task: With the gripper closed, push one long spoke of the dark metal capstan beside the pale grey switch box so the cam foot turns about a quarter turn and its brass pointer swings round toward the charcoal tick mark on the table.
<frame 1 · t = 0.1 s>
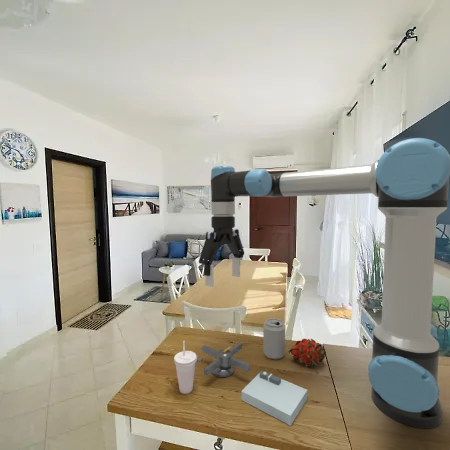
hand: (223, 280, 86), 28 cm above the table, fingers open, 13 cm apart
pale grey switch box: (274, 399, 71), on the table
smoothie: (186, 389, 76), on the table
capstan: (224, 360, 83), point 3 cm above the table, hinge at 0.0°
dragon fruit: (306, 363, 88), on the table
can: (274, 355, 93), on the table
tick mark: (199, 359, 90), on the table
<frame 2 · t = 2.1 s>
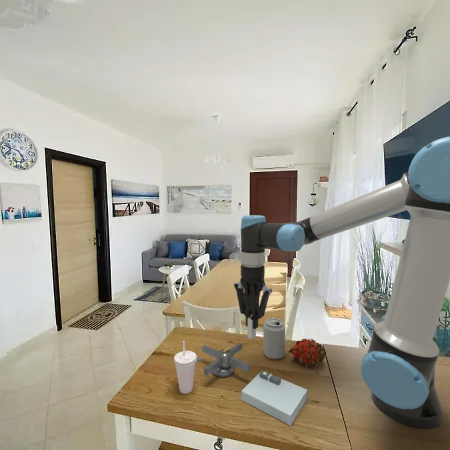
hand: (251, 336, 85), 10 cm above the table, fingers closed
nothing on the table moved.
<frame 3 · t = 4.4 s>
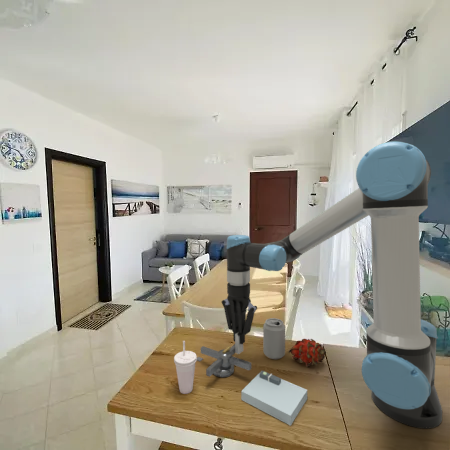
hand: (239, 351, 88), 4 cm above the table, fingers closed
capstan: (224, 360, 83), point 3 cm above the table, hinge at 5.3°, touching gripper
everything else where it was.
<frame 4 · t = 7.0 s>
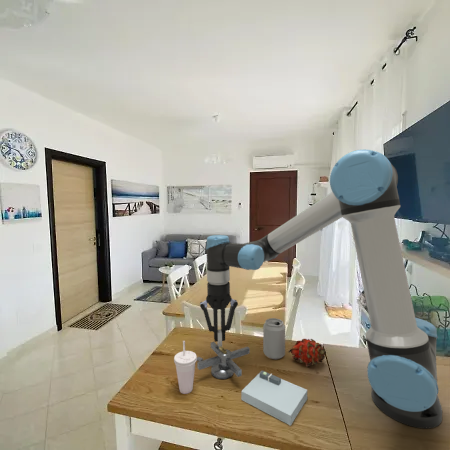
hand: (219, 349, 90), 3 cm above the table, fingers closed
capstan: (224, 360, 83), point 3 cm above the table, hinge at 66.0°, touching gripper
everything else where it was.
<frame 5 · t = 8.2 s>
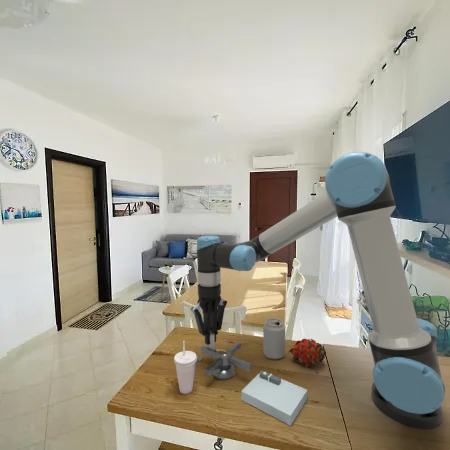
hand: (210, 352, 88), 3 cm above the table, fingers closed
capstan: (224, 360, 83), point 3 cm above the table, hinge at 93.5°, touching gripper
everything else where it was.
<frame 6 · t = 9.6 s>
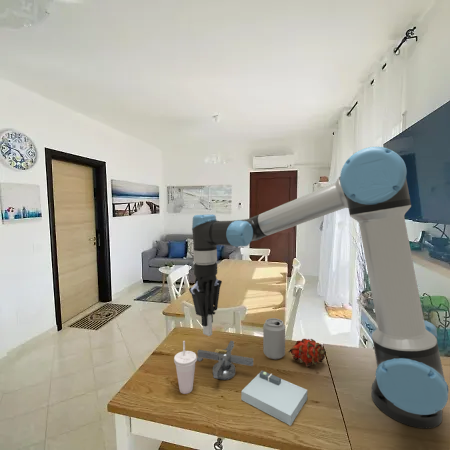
hand: (207, 334, 86), 11 cm above the table, fingers closed
capstan: (224, 360, 83), point 3 cm above the table, hinge at 110.7°
everything else where it was.
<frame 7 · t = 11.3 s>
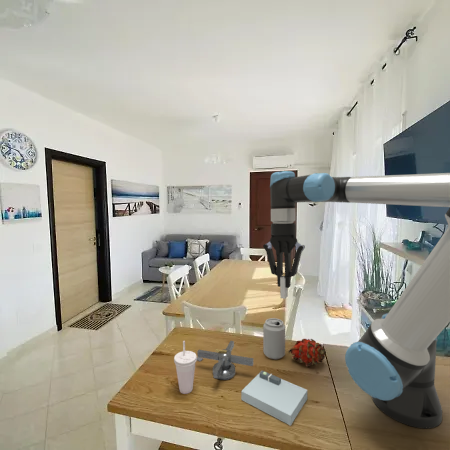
hand: (284, 297, 83), 23 cm above the table, fingers closed
nothing on the table moved.
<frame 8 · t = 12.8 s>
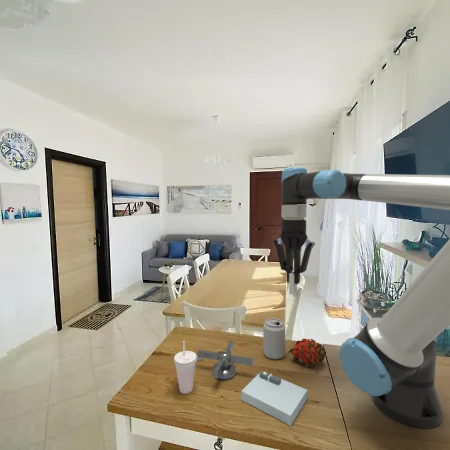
hand: (293, 293, 84), 24 cm above the table, fingers closed
nothing on the table moved.
at the end: capstan at +111° (first picture: +0°) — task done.
